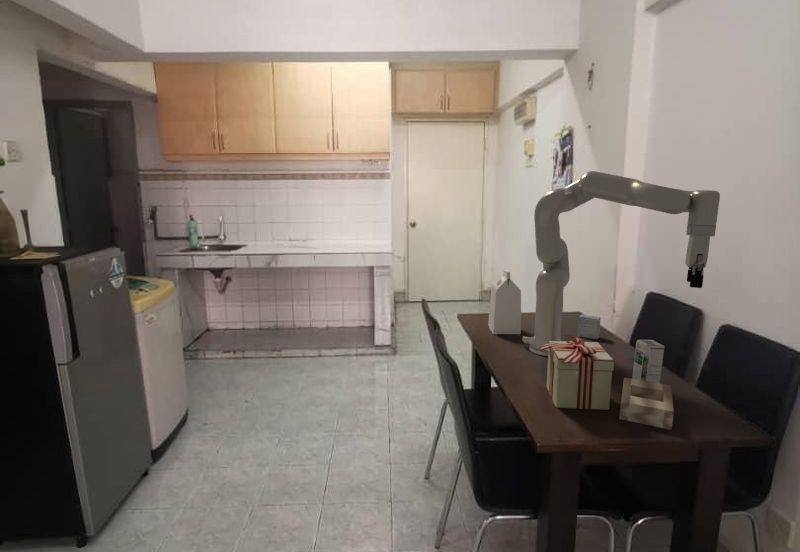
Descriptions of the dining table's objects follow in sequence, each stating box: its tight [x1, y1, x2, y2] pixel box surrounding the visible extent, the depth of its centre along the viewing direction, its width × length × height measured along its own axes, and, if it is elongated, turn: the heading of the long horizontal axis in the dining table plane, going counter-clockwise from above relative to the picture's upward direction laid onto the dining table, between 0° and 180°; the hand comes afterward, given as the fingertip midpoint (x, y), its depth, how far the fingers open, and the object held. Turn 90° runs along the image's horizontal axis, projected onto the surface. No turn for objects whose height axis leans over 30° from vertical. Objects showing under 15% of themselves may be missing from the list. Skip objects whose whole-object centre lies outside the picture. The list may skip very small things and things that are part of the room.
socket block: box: [619, 377, 675, 431], centre depth 127 cm, size 12×18×5 cm, turn 152°
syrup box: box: [631, 339, 665, 384], centre depth 141 cm, size 6×6×14 cm
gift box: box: [539, 335, 615, 411], centre depth 133 cm, size 17×18×17 cm
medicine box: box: [576, 314, 601, 340], centre depth 191 cm, size 8×4×9 cm, turn 57°
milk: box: [487, 269, 522, 335], centre depth 197 cm, size 12×12×26 cm
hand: (694, 284), depth 147 cm, fingers open, 9 cm apart
